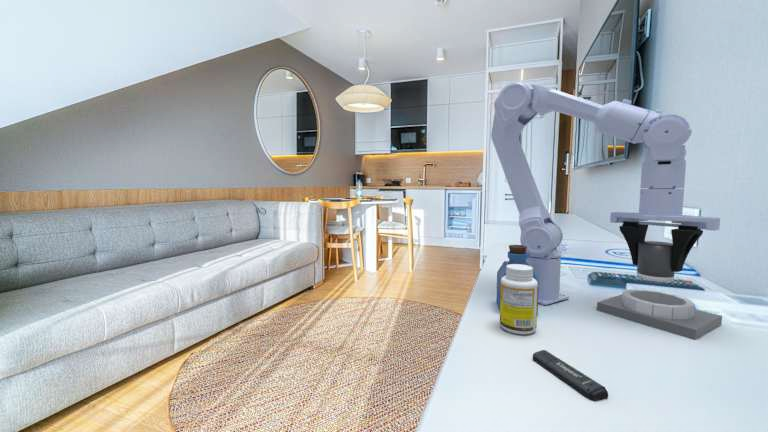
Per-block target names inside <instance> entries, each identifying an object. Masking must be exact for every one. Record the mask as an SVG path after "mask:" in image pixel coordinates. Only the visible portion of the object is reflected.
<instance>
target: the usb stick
mask: <svg viewBox="0 0 768 432" xmlns="http://www.w3.org/2000/svg"><path fill="white" fill-rule="evenodd" d="M532 361H534V362H536V363H537V364H538V365H540V366H541V367H543V368H544V369H545V370H547V371H548V372H550V373H551V374H552V375H554V376H555V377H556V378H558V379H559V380H561V381H563V382H564V383H566V384H567V385H568V386H570V387H571V388H572V389H574V390H576V391H577V392H578V393H579V394H581V395H583V396H584V397H585V398H587V399H589V400H591V401H595V402H599V401H603V400H606V399H608V398H609V392H608V390H607V389H606V387H605V386H604V385H602V384H601V383H599V382H597V381H596V380H594V379H593V378H592V377H589V376H588V375H586V374H584V373H583V372H581V371H579V370H578V369H577V368H574V367H573V366H571V365H570V364H568V362H567V363H566V362H565V361H563V359H562V360H561V359H560V358H558V357H557V356H555V355H554V354H552V353H551V352H549V351H547V350H545V349H541V350H538V351H536V352H533V354H532Z"/></svg>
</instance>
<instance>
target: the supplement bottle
mask: <svg viewBox="0 0 768 432" xmlns="http://www.w3.org/2000/svg"><path fill="white" fill-rule="evenodd" d="M537 298H538V282H537V281H536V280H535V279H534V278H533V268H532V267H531V266H528V265H522V264H509V265H507V266H506V276H504V277H502V278H501V290H500V310H499V325H500V327H501V328H502V329H503V330H504V331H506V332H509V333H512V334H515V335H525V336H526V335H532V334H533V333H535V332H536V330H537V319H538V317H537Z"/></svg>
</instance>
